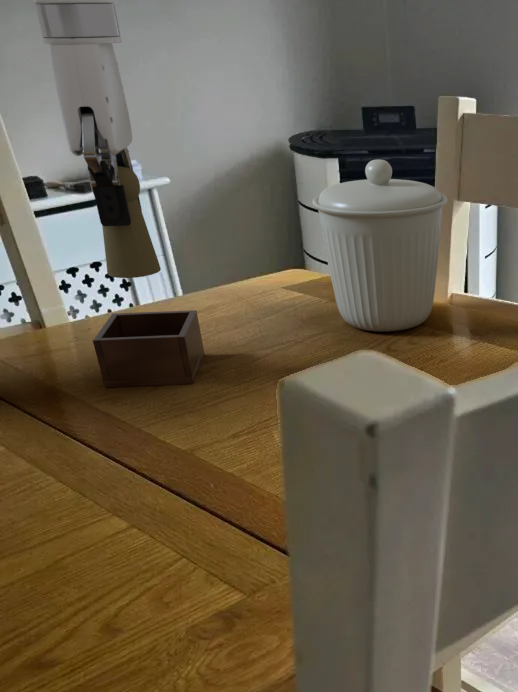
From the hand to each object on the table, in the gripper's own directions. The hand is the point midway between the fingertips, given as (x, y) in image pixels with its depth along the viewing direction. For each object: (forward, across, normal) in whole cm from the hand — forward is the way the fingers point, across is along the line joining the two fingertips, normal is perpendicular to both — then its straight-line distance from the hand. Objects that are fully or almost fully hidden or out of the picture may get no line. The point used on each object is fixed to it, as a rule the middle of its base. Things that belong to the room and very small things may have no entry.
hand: (122, 217), depth 94 cm
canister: (+18, -16, +30) cm, 39 cm away
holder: (+18, 0, 0) cm, 18 cm away
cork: (+6, 0, 0) cm, 6 cm away
